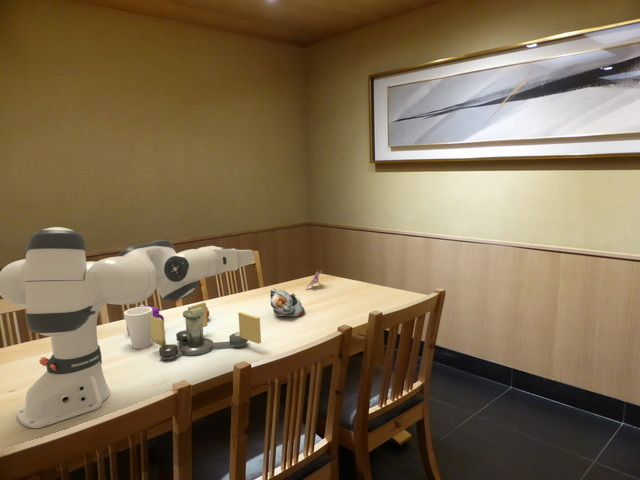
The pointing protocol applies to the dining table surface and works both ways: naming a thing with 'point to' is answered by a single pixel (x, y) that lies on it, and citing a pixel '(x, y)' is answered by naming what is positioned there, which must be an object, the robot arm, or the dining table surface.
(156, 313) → the toy camera
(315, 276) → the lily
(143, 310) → the foam cup
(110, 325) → the dining table surface
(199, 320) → the tribrach
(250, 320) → the tan placard on stand
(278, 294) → the grey lumpy piece
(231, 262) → the robot arm
